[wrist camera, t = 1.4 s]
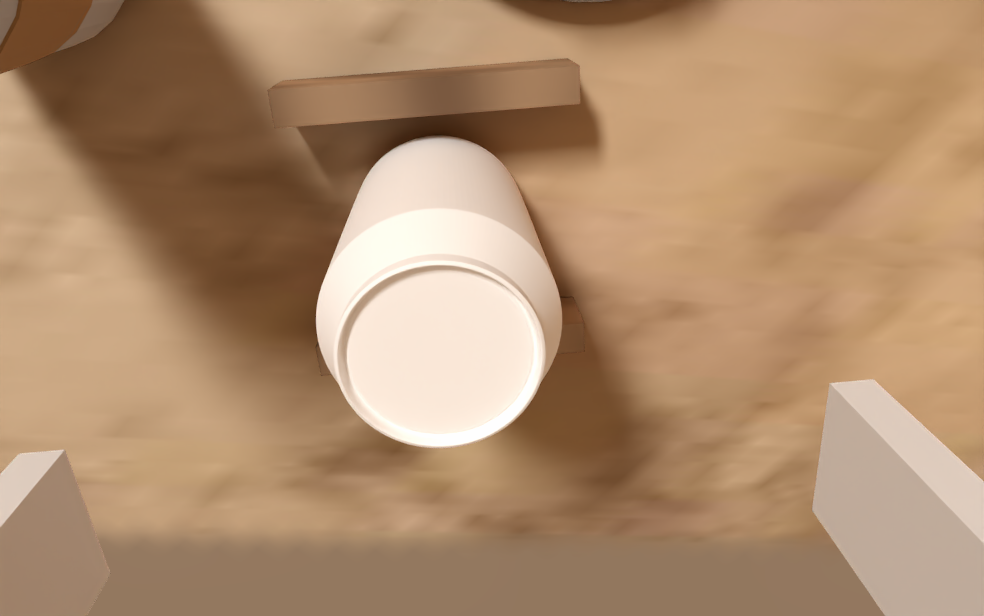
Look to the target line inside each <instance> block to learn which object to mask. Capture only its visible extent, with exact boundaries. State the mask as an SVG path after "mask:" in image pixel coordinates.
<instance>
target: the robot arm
mask: <svg viewBox="0 0 984 616" xmlns="http://www.w3.org/2000/svg"><path fill="white" fill-rule="evenodd" d="M812 511H813V512H814V514H815V515H816V517H817V518H818V520H819V521H820V522H821V524H822V525H823V527H824V528H825V530H826V531H827V533H828V534H829V535H830V537H831V538H832V540H833V541H834V543H835V544H836V546H837V547H838V548H839V550H840V551H841V553H842V554H843V556H844V557H845V558H846V560H847V561H848V563H849V564H850V566H851V567H852V569H853V570H854V572H855V573H856V574H857V576H858V577H859V579H860V580H861V581H862V583H863V585H864V586H865V587H866V589H867V590H868V592H869V593H870V594H871V596H872V598H873V599H874V600H875V602H876V603H877V605H878V606H879V608H880V609H881V611H882V612H883V613H884V615H885V616H984V481H982V480H981V479H980V478H979V477H978V476H977V475H976V474H975V473H974V472H973V471H972V470H971V469H970V468H968V467H967V466H966V465H965V464H964V463H963V462H962V461H961V460H960V459H959V458H958V457H957V456H956V455H954V454H953V453H952V452H951V451H950V450H949V449H948V448H947V447H946V446H945V445H944V444H943V443H941V442H940V441H939V440H938V439H937V438H936V437H935V436H934V435H933V434H932V433H931V432H930V431H929V430H927V429H926V428H925V427H924V426H923V425H922V424H921V423H920V422H919V421H918V420H917V419H916V418H915V417H913V416H912V415H911V414H910V413H909V412H908V411H907V410H906V409H905V408H904V407H903V406H902V405H900V404H899V403H898V402H897V401H896V400H895V399H894V398H893V397H892V396H891V395H890V394H889V393H888V392H886V391H885V390H884V389H883V388H882V387H881V386H880V385H879V384H878V383H877V382H876V381H875V380H874V379H872V380H860V381H849V382H837V383H830V385H829V392H828V399H827V406H826V414H825V421H824V428H823V435H822V442H821V449H820V457H819V464H818V471H817V478H816V485H815V492H814V500H813V507H812ZM110 574H111V573H110V571H109V568H108V565H107V562H106V560H105V557H104V554H103V552H102V549H101V546H100V544H99V541H98V538H97V535H96V533H95V530H94V527H93V525H92V522H91V519H90V516H89V514H88V511H87V508H86V506H85V503H84V500H83V498H82V495H81V492H80V489H79V487H78V484H77V481H76V479H75V476H74V473H73V470H72V468H71V465H70V462H69V460H68V457H67V454H66V451H65V450H55V451H44V452H32V453H21V454H18V455H17V457H16V458H15V459H14V460H13V461H12V462H11V463H10V464H9V465H8V466H7V467H6V468H5V470H4V471H3V472H2V473H1V474H0V616H86V615H87V614H88V612H89V610H90V609H91V607H92V605H93V604H94V602H95V600H96V598H97V597H98V595H99V593H100V591H101V590H102V588H103V586H104V585H105V583H106V581H107V579H108V578H109V576H110Z"/></svg>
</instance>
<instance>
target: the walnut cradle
mask: <svg viewBox="0 0 984 616" xmlns="http://www.w3.org/2000/svg"><path fill="white" fill-rule="evenodd" d="M267 91H268V96H269V101H270V107H271V112H272V117H273V123H274V128H286V127H298V126H311V125H323V124H336V123H348V122H361V121H373V120H386V119H398V118H410V117H423V116H435V115H448V114H460V113H473V112H485V111H498V110H510V109H523V108H535V107H548V106H560V105H573V104H580V66H579V65H578V64H576V63H574V62H572V61H571V60H569V59H554V60H542V61H529V62H516V63H503V64H490V65H478V66H465V67H452V68H439V69H426V70H414V71H401V72H388V73H375V74H362V75H350V76H337V77H324V78H311V79H298V80H286V81H282V82H280V83H278V84H277V85H275V86H273V87H272V88H270V89H269V90H267ZM560 301H561V307H562V331H561V338H560V342H559V346H558V350H557V353H556V354H564V353H574V352H585V344H584V322H583V319H582V317H581V315H580V312H579V310H578V308H577V305H576V303H575V301H574V298H573V297H567V298H560ZM316 351H317V357H318V362H319V367H320V373H321V376H323V375H332V374H331V372H330V370H329V369H328V367H327V365H326V363H325V360H324V358H323V355H322V353H321V349H320V346H319V342H317V345H316Z"/></svg>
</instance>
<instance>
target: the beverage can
mask: <svg viewBox="0 0 984 616" xmlns="http://www.w3.org/2000/svg"><path fill="white" fill-rule="evenodd" d="M316 330H317V337H318V342H319V346H320V349H321V353H322V355H323V358H324V360H325V363H326V365H327V367H328V369H329V370H330V372H331V374H332V375H333V377H334V378H335V380H336V381H337V383H338V384H339V386H340V388H341V391H342V393H343V395H344V396H345V398H346V400H347V401H348V403H349V404H350V406H351V407H352V408H353V410H354V411H355V412H356V413H357V414H358V415H359V416H360V417H361V418H362V419H363V420H364V421H365V422H366V423H367V424H369V425H370V426H371V427H373V428H374V429H376V430H377V431H379V432H380V433H382V434H384V435H386V436H388V437H390V438H392V439H394V440H397V441H400V442H403V443H406V444H410V445H414V446H419V447H426V448H452V447H459V446H464V445H468V444H472V443H475V442H478V441H481V440H484V439H486V438H488V437H490V436H492V435H494V434H496V433H498V432H499V431H501V430H503V429H504V428H506V427H507V426H508V425H510V424H511V423H512V422H513V421H514V420H515V419H517V418H518V417H519V416H520V415H521V414H522V412H523V411H524V410H525V409H526V408H527V406H528V405H529V404H530V402H531V401H532V399H533V397H534V396H535V394H536V392H537V390H538V388H539V385H540V383H541V381H542V380H543V378H544V377H545V375H546V374H547V372H548V370H549V369H550V367H551V365H552V363H553V360H554V358H555V356H556V353H557V350H558V346H559V342H560V338H561V331H562V307H561V301H560V296H559V292H558V289H557V286H556V283H555V280H554V277H553V275H552V272H551V270H550V267H549V264H548V262H547V259H546V257H545V254H544V252H543V249H542V246H541V244H540V241H539V239H538V236H537V234H536V231H535V229H534V226H533V223H532V221H531V218H530V216H529V213H528V211H527V208H526V206H525V203H524V201H523V198H522V196H521V193H520V191H519V189H518V187H517V185H516V183H515V181H514V179H513V177H512V176H511V174H510V172H509V171H508V170H507V168H506V167H505V166H504V165H503V164H502V163H501V161H500V160H498V159H497V158H496V157H495V156H494V155H493V154H492V153H490V152H489V151H487V150H486V149H484V148H483V147H481V146H479V145H477V144H475V143H473V142H471V141H468V140H465V139H462V138H458V137H452V136H443V135H435V136H425V137H420V138H416V139H413V140H410V141H407V142H405V143H403V144H401V145H399V146H397V147H395V148H394V149H392V150H391V151H389V152H388V153H386V154H385V155H384V156H383V157H382V158H381V159H380V160H379V161H378V162H377V163H376V164H375V165H374V166H373V167H372V169H371V170H370V172H369V173H368V175H367V176H366V178H365V180H364V182H363V184H362V186H361V188H360V190H359V193H358V195H357V197H356V200H355V202H354V205H353V207H352V210H351V212H350V215H349V217H348V220H347V222H346V225H345V227H344V230H343V232H342V235H341V237H340V240H339V243H338V245H337V248H336V250H335V253H334V255H333V258H332V260H331V263H330V265H329V268H328V271H327V273H326V276H325V278H324V281H323V284H322V286H321V290H320V293H319V297H318V302H317V310H316Z"/></svg>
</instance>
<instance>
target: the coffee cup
mask: <svg viewBox="0 0 984 616" xmlns="http://www.w3.org/2000/svg"><path fill="white" fill-rule="evenodd" d="M123 2H124V0H0V74H1V73H4V72H7V71H10V70H13V69H15V68H18V67H21V66H24V65H27V64H29V63H32V62H34V61H36V60H38V59H41V58H43V57H45V56H48V55H50V54H52V53H54V52H57V51H60V50H63V49H66V48H69V47H72V46H75V45H77V44H79V43H81V42H84V41H86V40H88V39H90V38H93V37H95V36H96V35H97V34H98V33H99V32H100V31H102V30H103V29H104V28H105V27H106V26H107V25H108V24H109V23H110V22H112V21H113V19H114V18H115V16H116V14H117V12H118V11H119V9H120V7H121V5H122V4H123Z"/></svg>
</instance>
